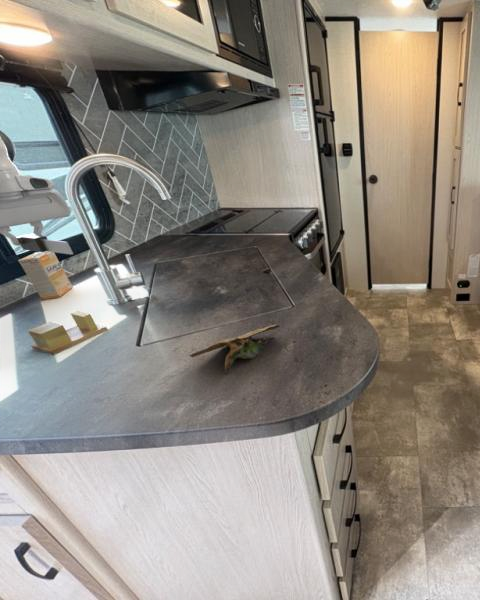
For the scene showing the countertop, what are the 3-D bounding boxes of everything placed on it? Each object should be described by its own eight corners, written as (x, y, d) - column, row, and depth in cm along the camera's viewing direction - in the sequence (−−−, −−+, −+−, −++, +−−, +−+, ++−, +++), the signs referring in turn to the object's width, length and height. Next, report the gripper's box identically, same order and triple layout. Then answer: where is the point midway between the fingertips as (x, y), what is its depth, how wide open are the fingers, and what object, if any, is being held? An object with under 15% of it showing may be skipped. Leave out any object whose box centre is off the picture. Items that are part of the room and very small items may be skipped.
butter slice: (78, 327, 79) (70, 313, 77) (85, 324, 80) (77, 310, 79) (90, 330, 78) (82, 316, 76) (97, 327, 79) (90, 313, 77)
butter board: (32, 348, 73) (20, 330, 71) (87, 325, 82) (78, 308, 80) (53, 355, 71) (41, 336, 68) (107, 329, 80) (98, 312, 78)
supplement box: (61, 297, 98) (38, 257, 92) (41, 300, 96) (16, 260, 90) (74, 287, 105) (53, 249, 99) (56, 289, 103) (33, 251, 97)
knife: (23, 249, 78) (15, 236, 77) (34, 247, 80) (27, 234, 79) (67, 255, 73) (59, 241, 71) (78, 253, 75) (71, 239, 73)
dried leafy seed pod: (243, 360, 78) (237, 330, 77) (293, 353, 74) (287, 321, 73) (174, 386, 60) (166, 347, 60) (235, 379, 56) (226, 337, 56)
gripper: (-69, 190, 62) (-25, 257, 68) (59, 179, 79) (85, 233, 86) (-84, 189, 64) (-40, 254, 70) (44, 179, 81) (70, 231, 87)
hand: (29, 242), depth 78 cm, fingers closed on knife, 2 cm apart
